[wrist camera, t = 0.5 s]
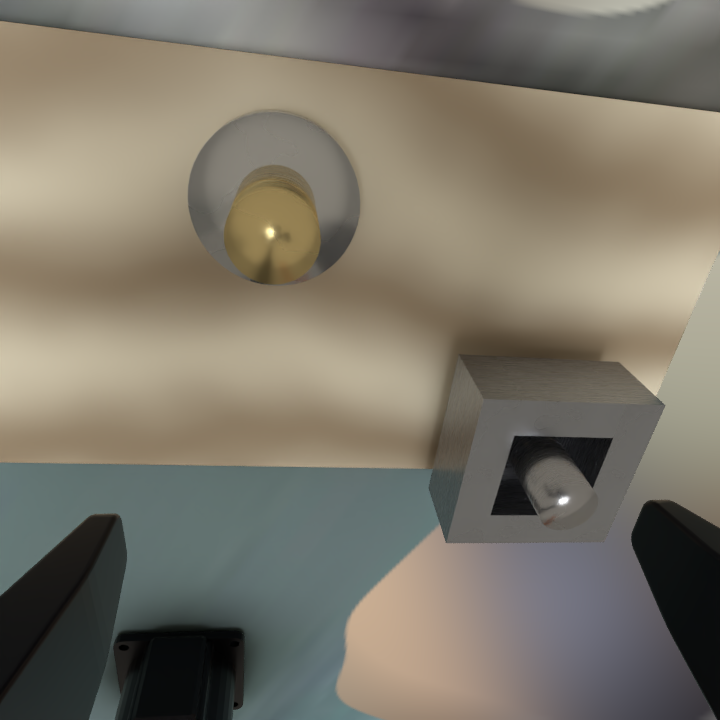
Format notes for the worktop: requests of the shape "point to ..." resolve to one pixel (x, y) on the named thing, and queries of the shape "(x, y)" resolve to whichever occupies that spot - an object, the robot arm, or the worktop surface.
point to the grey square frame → (536, 418)
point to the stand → (552, 481)
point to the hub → (274, 198)
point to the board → (343, 279)
